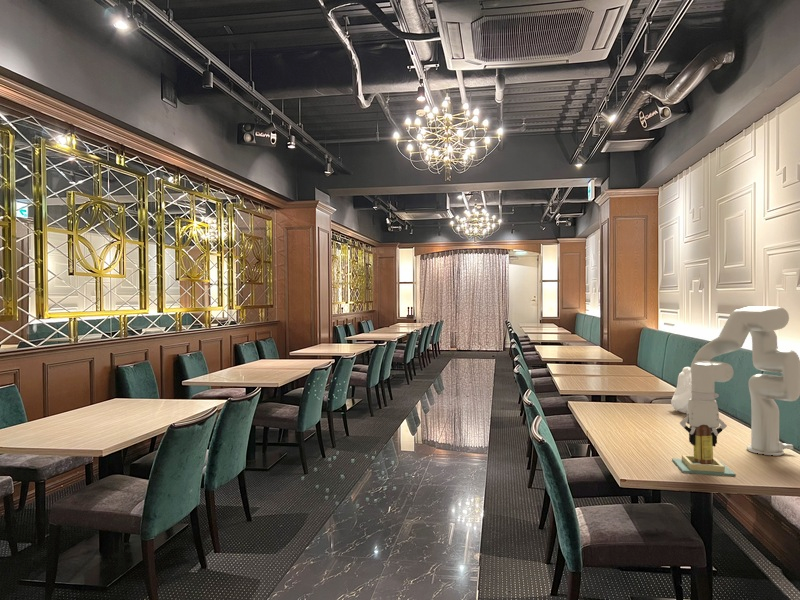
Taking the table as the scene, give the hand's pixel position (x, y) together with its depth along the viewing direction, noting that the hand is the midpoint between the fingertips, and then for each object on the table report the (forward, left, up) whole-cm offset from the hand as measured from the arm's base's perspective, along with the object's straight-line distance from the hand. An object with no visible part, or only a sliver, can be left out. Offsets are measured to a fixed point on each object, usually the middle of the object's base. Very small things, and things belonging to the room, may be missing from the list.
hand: (702, 444), depth 201 cm
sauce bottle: (0, 0, -7) cm, 7 cm away
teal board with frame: (0, 0, -9) cm, 9 cm away
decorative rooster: (-22, -101, -9) cm, 104 cm away
